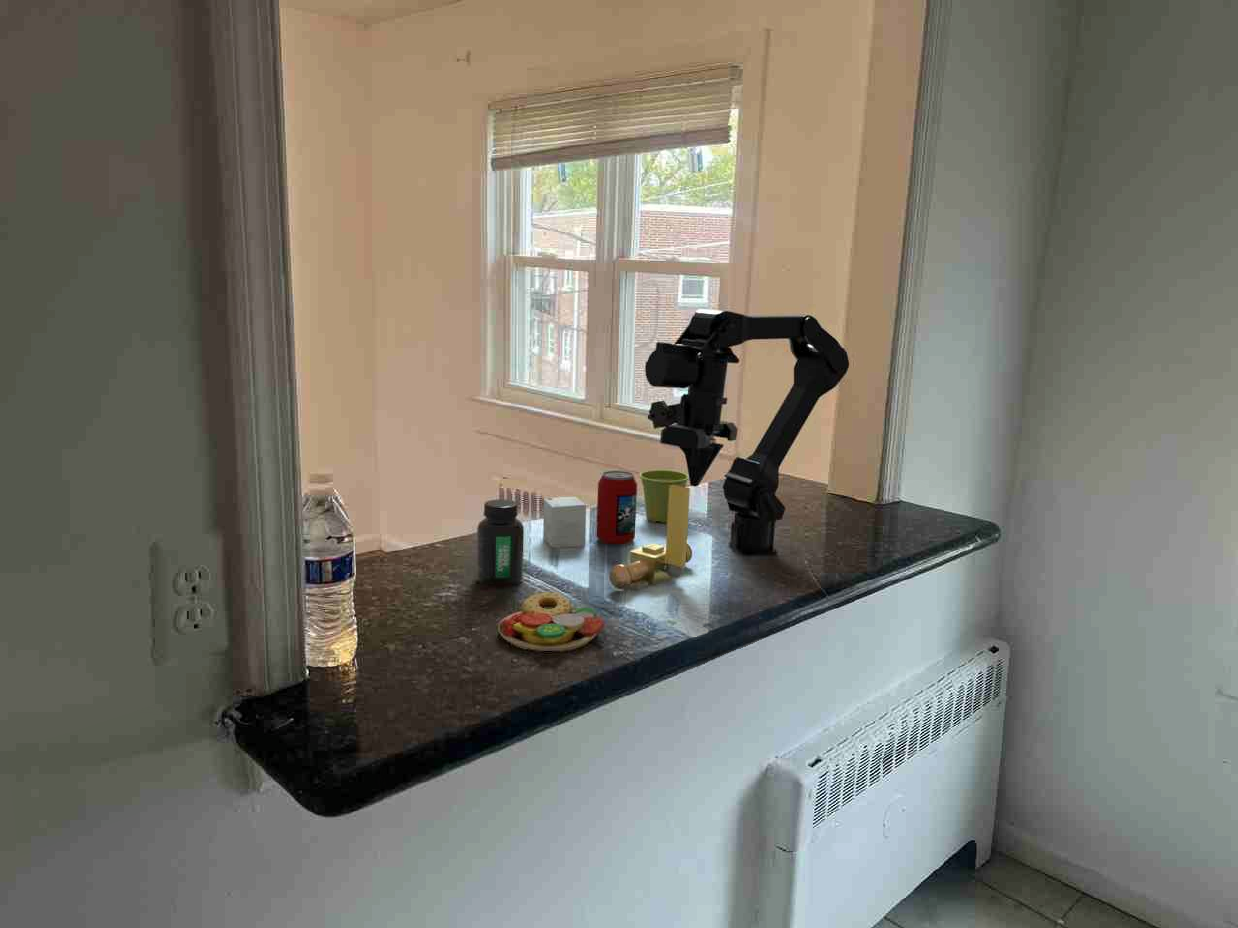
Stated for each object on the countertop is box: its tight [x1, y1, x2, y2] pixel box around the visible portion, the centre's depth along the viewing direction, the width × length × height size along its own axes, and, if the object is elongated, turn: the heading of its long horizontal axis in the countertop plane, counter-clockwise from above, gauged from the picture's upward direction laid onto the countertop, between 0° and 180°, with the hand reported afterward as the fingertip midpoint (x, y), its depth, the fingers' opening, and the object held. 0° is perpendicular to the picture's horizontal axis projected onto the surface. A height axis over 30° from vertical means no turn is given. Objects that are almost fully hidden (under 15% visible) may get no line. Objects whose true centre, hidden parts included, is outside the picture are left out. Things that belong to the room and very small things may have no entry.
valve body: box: [609, 543, 693, 592], centre depth 138 cm, size 18×5×5 cm, turn 142°
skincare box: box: [542, 496, 587, 549], centre depth 154 cm, size 6×6×7 cm
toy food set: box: [498, 592, 605, 652], centre depth 116 cm, size 13×13×3 cm
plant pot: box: [639, 469, 689, 524], centre depth 171 cm, size 9×9×9 cm
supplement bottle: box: [476, 498, 525, 589], centre depth 134 cm, size 7×7×12 cm
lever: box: [665, 485, 691, 579], centre depth 134 cm, size 2×3×14 cm
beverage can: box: [596, 470, 638, 546], centre depth 155 cm, size 7×7×12 cm
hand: (694, 485), depth 145 cm, fingers closed
